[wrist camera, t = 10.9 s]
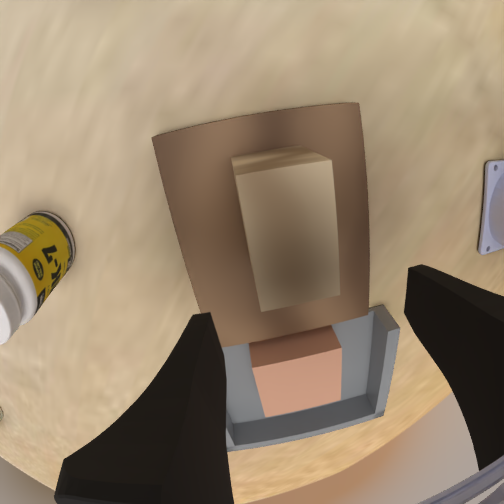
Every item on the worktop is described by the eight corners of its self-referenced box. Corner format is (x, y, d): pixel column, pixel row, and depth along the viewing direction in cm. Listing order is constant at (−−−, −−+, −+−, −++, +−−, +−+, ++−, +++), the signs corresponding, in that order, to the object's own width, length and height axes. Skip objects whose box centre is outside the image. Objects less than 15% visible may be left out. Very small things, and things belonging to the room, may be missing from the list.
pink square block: (329, 320, 22) (341, 347, 20) (330, 373, 25) (340, 399, 22) (247, 338, 22) (252, 368, 19) (261, 389, 25) (265, 417, 22)
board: (347, 102, 16) (358, 102, 15) (360, 302, 22) (368, 314, 21) (157, 135, 16) (151, 137, 15) (213, 334, 22) (213, 349, 21)
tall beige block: (299, 145, 16) (331, 160, 11) (311, 248, 18) (340, 295, 14) (230, 156, 16) (235, 175, 11) (250, 260, 18) (261, 312, 14)
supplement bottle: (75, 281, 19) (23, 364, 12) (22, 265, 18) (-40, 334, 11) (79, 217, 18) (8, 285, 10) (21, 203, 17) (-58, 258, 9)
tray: (383, 304, 23) (400, 327, 20) (373, 393, 28) (383, 415, 25) (189, 346, 23) (187, 375, 20) (225, 427, 27) (226, 451, 25)
